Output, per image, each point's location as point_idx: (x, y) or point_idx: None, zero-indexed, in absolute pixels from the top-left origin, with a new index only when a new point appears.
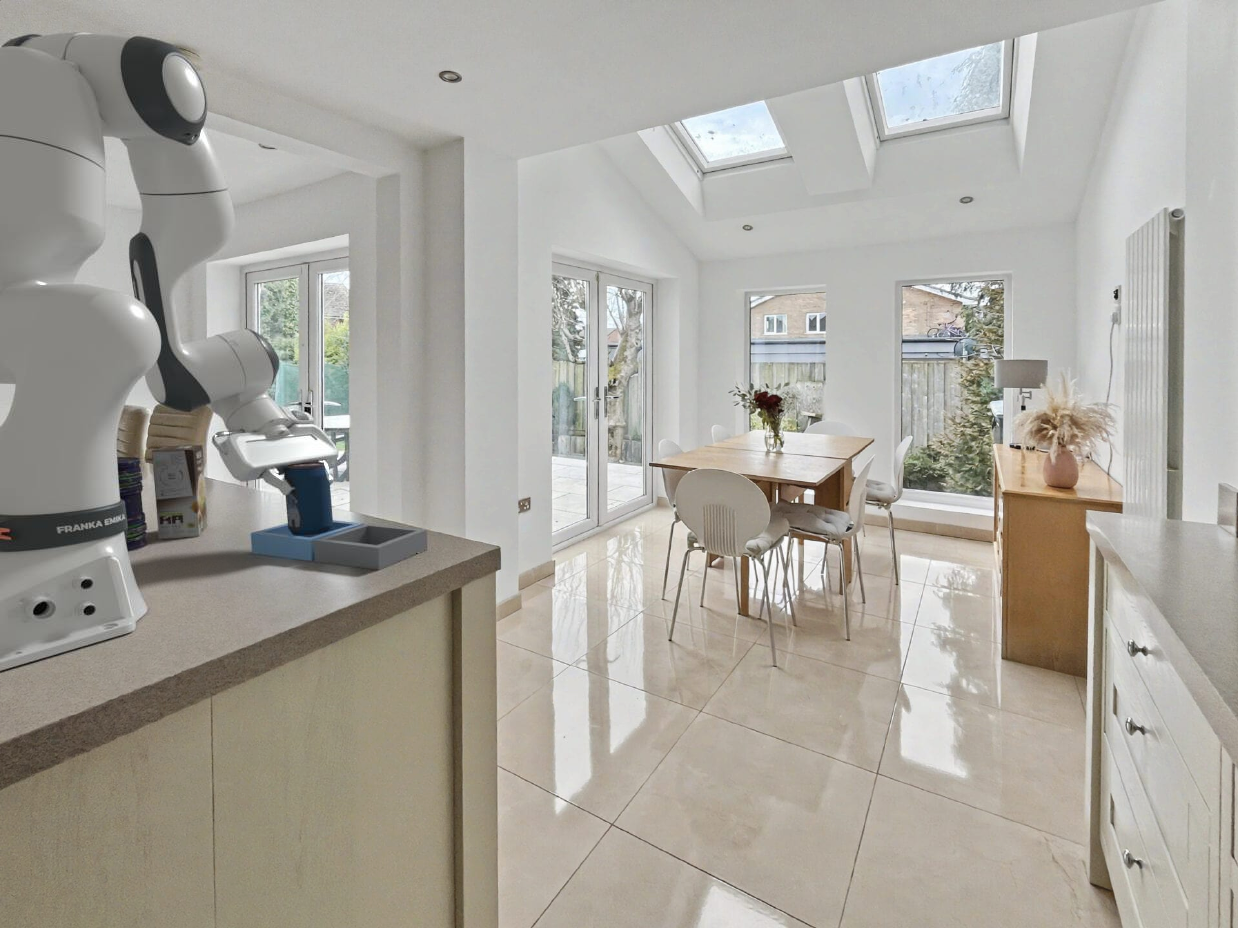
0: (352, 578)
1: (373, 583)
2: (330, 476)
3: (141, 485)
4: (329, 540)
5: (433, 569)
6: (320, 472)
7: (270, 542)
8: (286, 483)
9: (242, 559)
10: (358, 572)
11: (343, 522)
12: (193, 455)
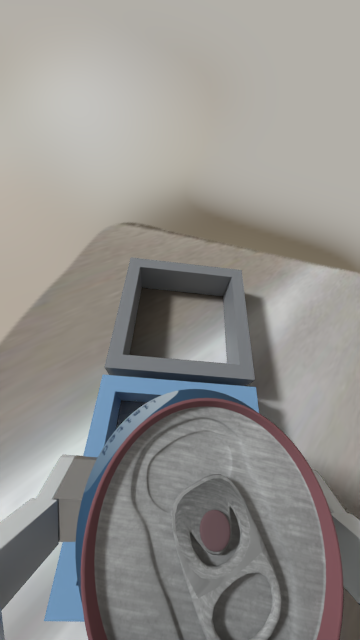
0: (268, 299)
1: (269, 274)
2: (58, 471)
3: None
4: (242, 352)
5: (205, 246)
6: (212, 394)
7: None
8: (330, 496)
9: None
10: (249, 305)
11: (101, 429)
12: None
